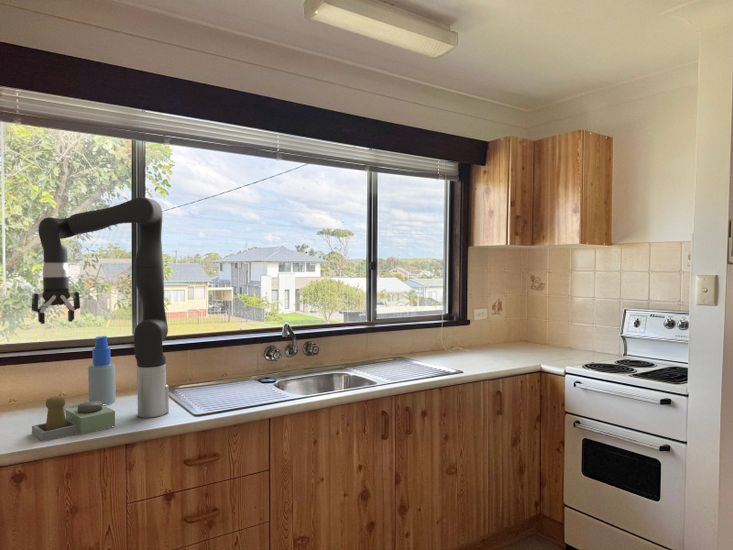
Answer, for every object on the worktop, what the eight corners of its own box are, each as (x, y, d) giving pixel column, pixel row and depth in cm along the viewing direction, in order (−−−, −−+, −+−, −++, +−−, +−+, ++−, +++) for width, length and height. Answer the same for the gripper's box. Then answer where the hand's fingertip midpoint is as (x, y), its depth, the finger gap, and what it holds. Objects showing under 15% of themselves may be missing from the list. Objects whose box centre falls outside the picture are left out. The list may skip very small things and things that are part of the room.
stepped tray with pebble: (98, 417, 171) (98, 397, 170) (115, 426, 161) (114, 404, 161) (30, 432, 156) (29, 410, 156) (44, 443, 146) (43, 419, 146)
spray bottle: (104, 398, 194) (103, 334, 194) (120, 400, 191) (119, 335, 190) (83, 404, 186) (82, 337, 186) (99, 407, 183) (98, 339, 182)
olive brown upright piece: (71, 428, 158) (70, 394, 158) (60, 435, 152) (60, 399, 152) (51, 429, 158) (51, 394, 158) (40, 435, 152) (39, 399, 151)
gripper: (35, 276, 165) (36, 325, 165) (82, 275, 175) (83, 321, 176) (28, 276, 170) (29, 323, 170) (74, 275, 180) (75, 320, 181)
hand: (56, 322), depth 173 cm, fingers open, 8 cm apart
